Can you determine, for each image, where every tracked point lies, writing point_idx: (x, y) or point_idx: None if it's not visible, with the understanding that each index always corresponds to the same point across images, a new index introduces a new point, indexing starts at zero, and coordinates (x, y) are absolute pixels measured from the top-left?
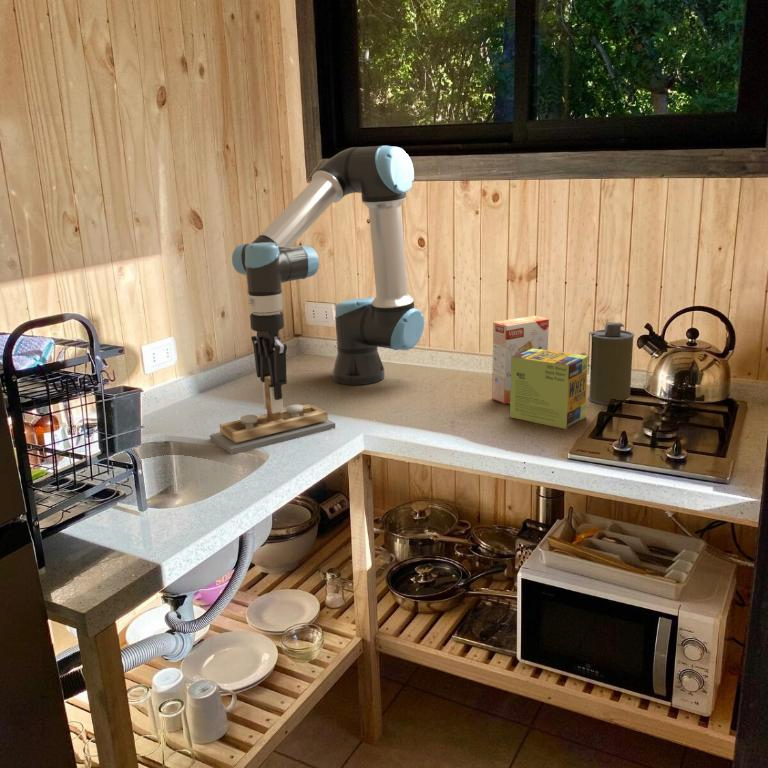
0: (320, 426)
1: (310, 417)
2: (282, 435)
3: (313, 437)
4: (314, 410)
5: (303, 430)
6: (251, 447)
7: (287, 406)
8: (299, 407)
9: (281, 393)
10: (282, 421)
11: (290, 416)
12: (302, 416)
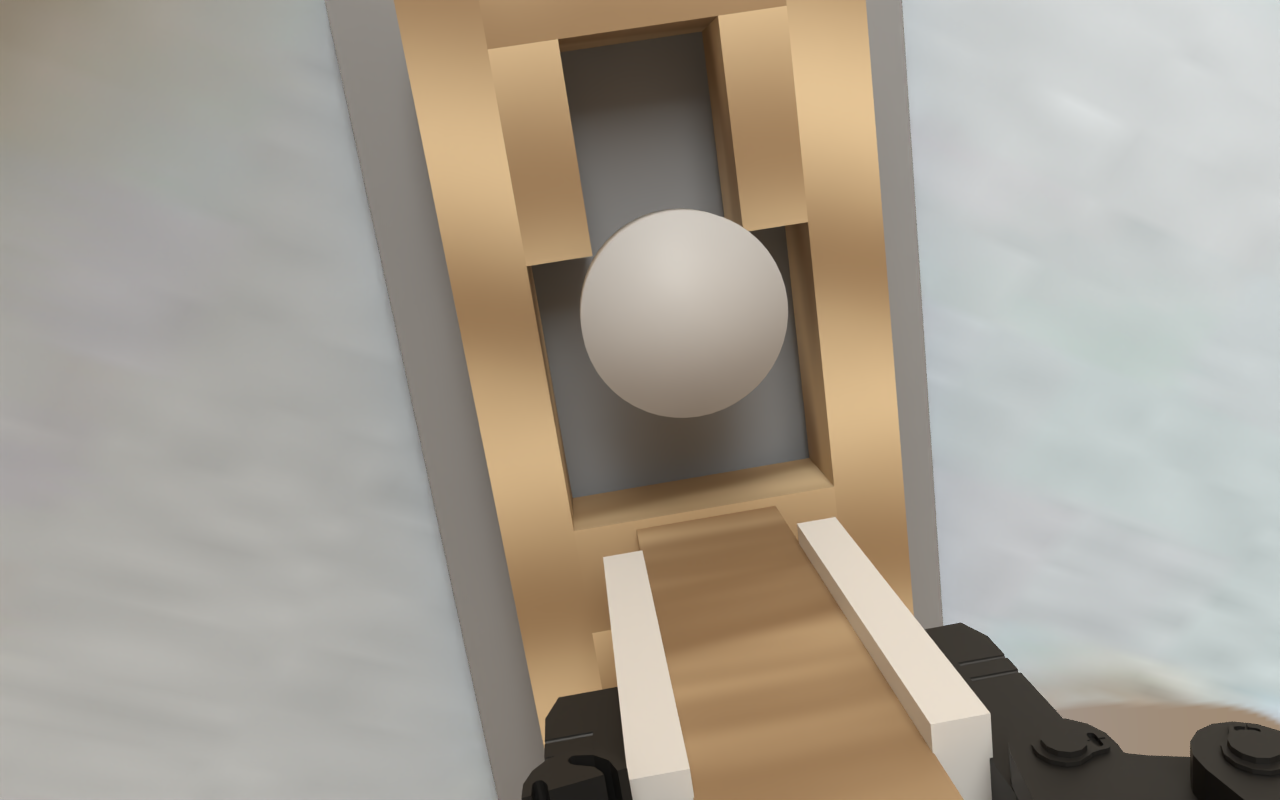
0: (895, 87)
1: (875, 181)
2: (912, 510)
3: (989, 224)
4: (649, 28)
5: (903, 291)
6: None
7: (616, 390)
8: (744, 269)
9: (1018, 674)
10: (864, 516)
11: (538, 308)
12: (836, 268)
